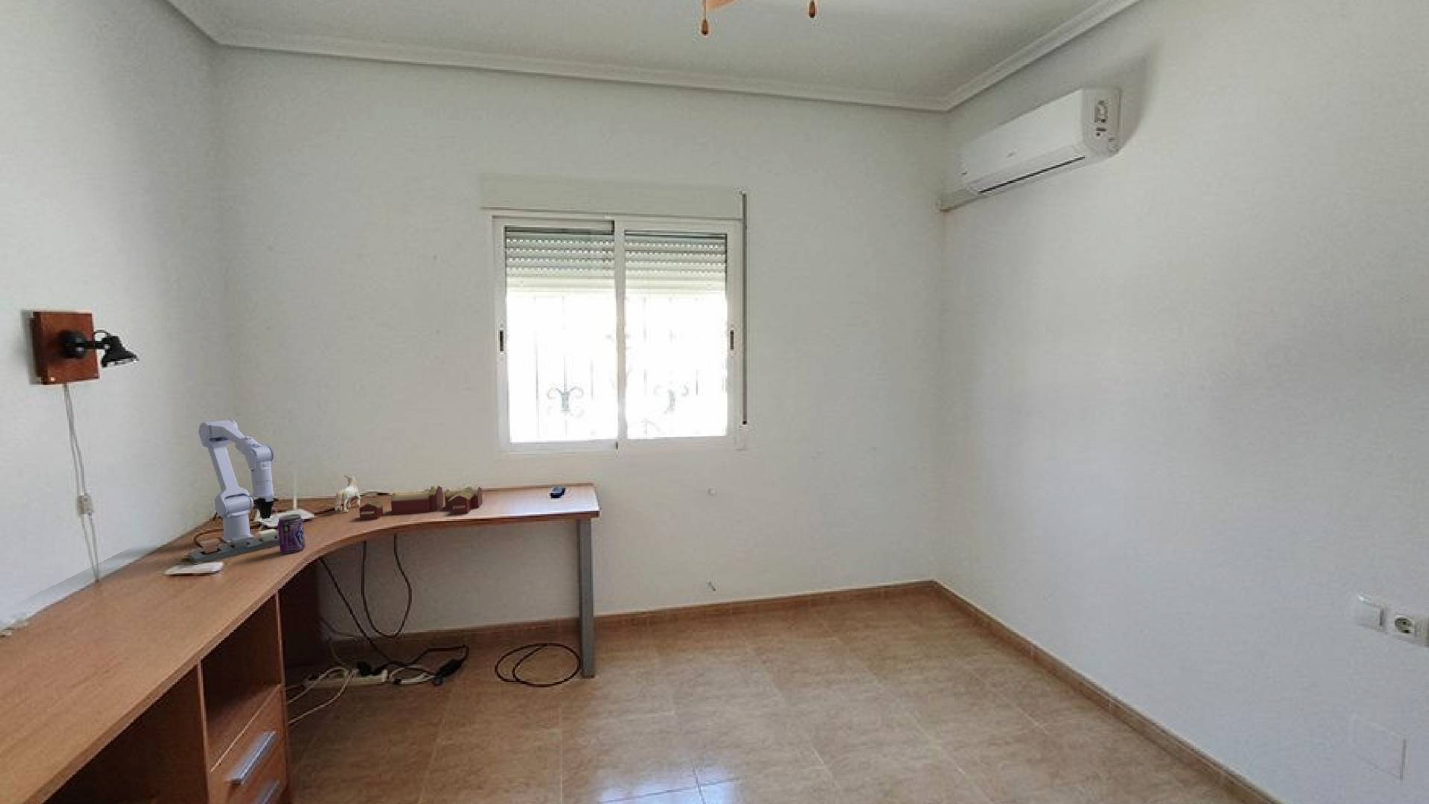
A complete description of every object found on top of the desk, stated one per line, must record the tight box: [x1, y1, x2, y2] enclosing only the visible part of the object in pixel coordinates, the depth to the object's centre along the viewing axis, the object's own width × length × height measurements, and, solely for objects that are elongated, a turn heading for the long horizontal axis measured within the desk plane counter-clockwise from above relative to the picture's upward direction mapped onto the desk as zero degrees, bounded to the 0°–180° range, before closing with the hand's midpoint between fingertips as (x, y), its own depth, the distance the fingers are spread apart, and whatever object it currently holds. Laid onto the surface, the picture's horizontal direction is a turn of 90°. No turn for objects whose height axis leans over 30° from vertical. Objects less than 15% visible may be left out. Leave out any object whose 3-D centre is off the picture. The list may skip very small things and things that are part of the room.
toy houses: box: [357, 485, 484, 521], centre depth 251 cm, size 45×20×10 cm, turn 100°
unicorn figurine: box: [333, 474, 361, 513], centre depth 259 cm, size 7×20×13 cm, turn 18°
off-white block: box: [257, 528, 278, 542], centre depth 214 cm, size 4×4×3 cm
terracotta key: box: [199, 537, 221, 553], centre depth 201 cm, size 4×4×3 cm
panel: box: [187, 532, 280, 564], centre depth 208 cm, size 10×26×2 cm, turn 140°
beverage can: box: [277, 513, 306, 554], centre depth 205 cm, size 7×7×12 cm
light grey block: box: [230, 535, 250, 548], centre depth 207 cm, size 4×4×3 cm
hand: (266, 518), depth 213 cm, fingers closed
